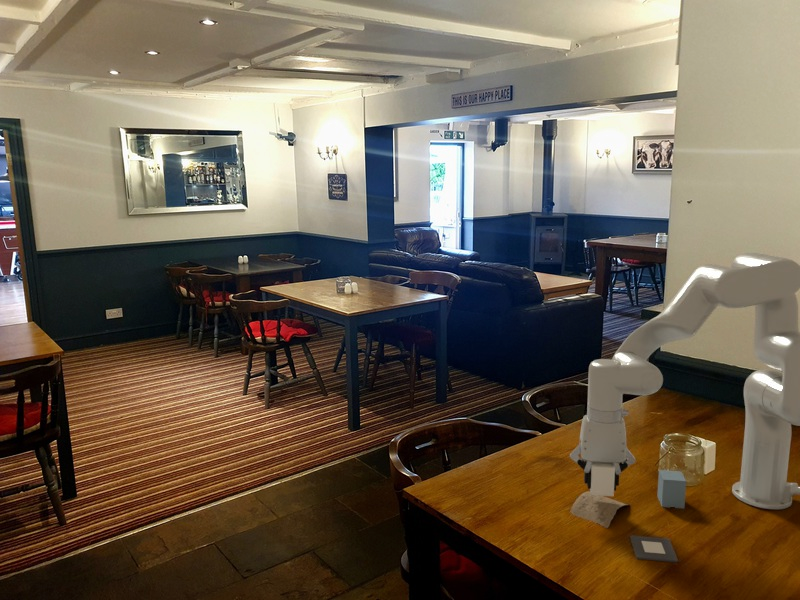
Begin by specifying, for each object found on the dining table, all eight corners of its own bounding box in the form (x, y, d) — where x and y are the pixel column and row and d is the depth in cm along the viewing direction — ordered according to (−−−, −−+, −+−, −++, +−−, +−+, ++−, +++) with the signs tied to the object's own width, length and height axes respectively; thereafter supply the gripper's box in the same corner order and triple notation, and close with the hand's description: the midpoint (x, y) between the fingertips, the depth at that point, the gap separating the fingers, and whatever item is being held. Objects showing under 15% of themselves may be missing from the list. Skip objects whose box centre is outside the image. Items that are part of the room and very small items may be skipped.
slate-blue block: (679, 498, 151) (680, 471, 149) (684, 508, 146) (686, 481, 145) (657, 496, 152) (658, 469, 150) (661, 506, 147) (663, 479, 146)
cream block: (610, 486, 147) (611, 458, 146) (613, 496, 142) (615, 468, 141) (588, 484, 148) (589, 457, 147) (591, 494, 143) (592, 466, 142)
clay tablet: (607, 532, 138) (608, 520, 137) (565, 516, 144) (566, 506, 144) (632, 506, 148) (633, 495, 148) (592, 493, 155) (592, 483, 155)
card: (668, 540, 133) (669, 538, 133) (678, 562, 125) (678, 560, 125) (629, 537, 135) (629, 534, 135) (636, 558, 127) (636, 556, 127)
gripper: (640, 409, 144) (636, 482, 147) (564, 406, 147) (562, 477, 150) (646, 421, 137) (642, 497, 140) (567, 417, 140) (564, 492, 143)
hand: (601, 486), depth 145 cm, fingers closed on cream block, 4 cm apart
